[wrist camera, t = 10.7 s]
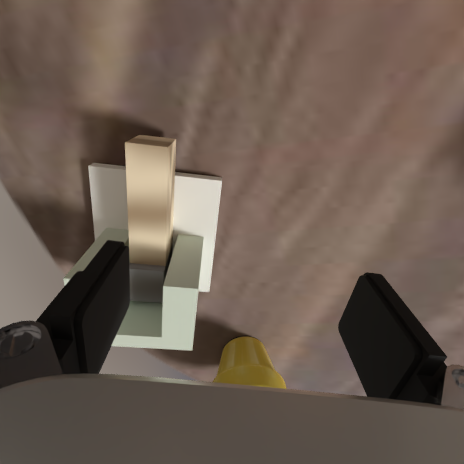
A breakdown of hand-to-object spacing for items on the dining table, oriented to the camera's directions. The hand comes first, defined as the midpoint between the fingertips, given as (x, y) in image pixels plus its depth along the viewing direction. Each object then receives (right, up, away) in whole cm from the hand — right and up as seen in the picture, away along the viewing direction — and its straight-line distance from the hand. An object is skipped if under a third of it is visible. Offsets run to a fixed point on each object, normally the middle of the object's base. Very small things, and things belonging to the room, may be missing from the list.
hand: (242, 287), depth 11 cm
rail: (-9, +5, +20) cm, 23 cm away
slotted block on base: (-9, +2, +23) cm, 25 cm away
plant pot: (+2, -16, +33) cm, 37 cm away
